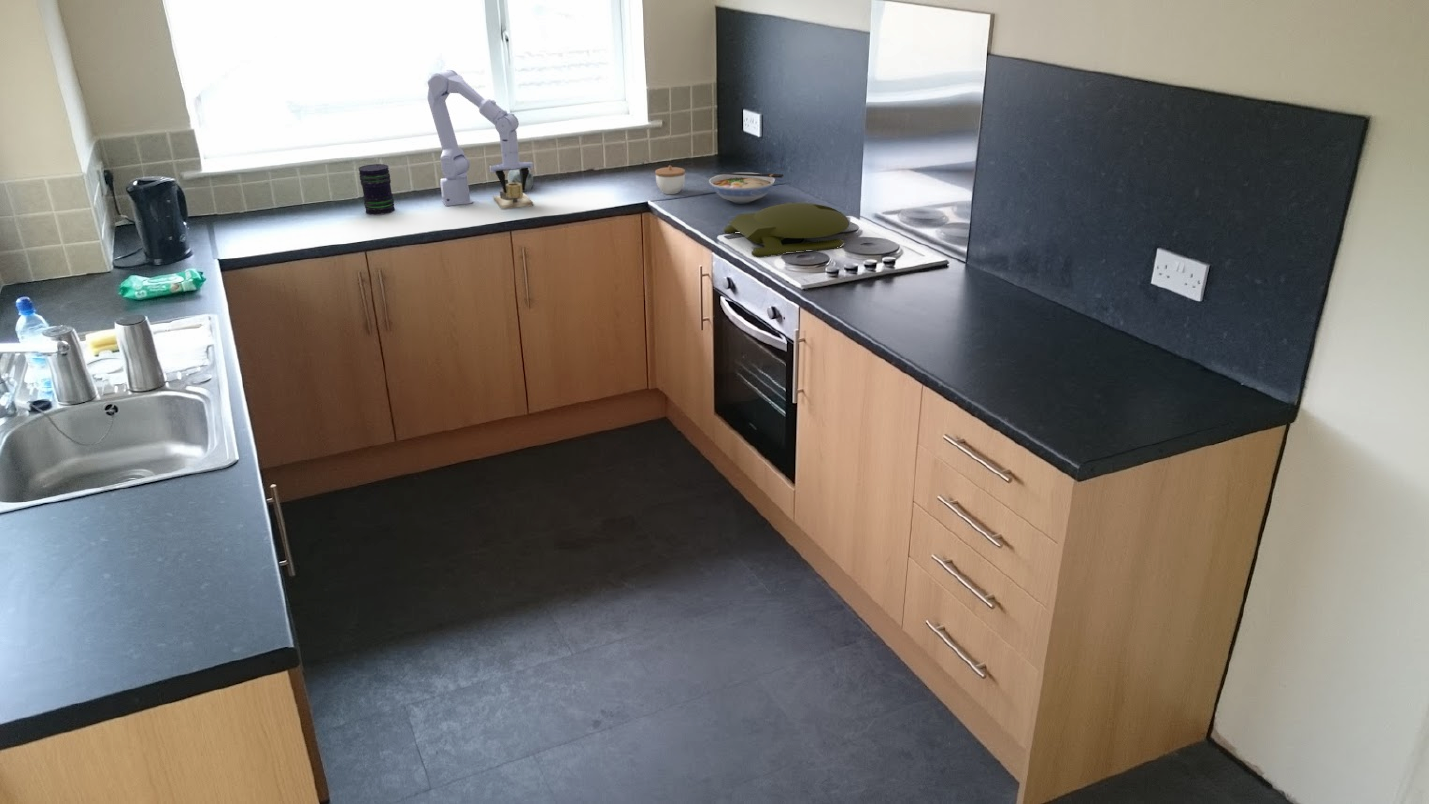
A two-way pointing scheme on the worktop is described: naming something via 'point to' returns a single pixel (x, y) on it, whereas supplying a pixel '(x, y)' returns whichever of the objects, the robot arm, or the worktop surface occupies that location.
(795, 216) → the green sea turtle
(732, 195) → the ramen bowl
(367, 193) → the black green cylinder
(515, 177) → the spool
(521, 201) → the gear board
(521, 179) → the robot arm
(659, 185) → the lidded jar
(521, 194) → the brass gear
